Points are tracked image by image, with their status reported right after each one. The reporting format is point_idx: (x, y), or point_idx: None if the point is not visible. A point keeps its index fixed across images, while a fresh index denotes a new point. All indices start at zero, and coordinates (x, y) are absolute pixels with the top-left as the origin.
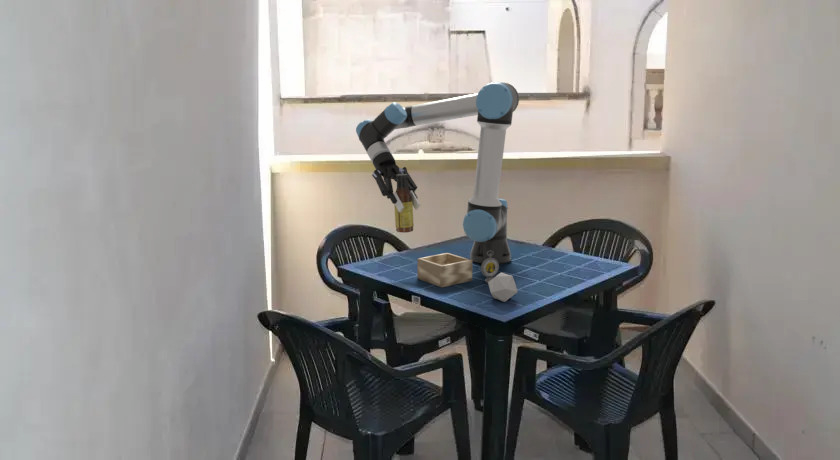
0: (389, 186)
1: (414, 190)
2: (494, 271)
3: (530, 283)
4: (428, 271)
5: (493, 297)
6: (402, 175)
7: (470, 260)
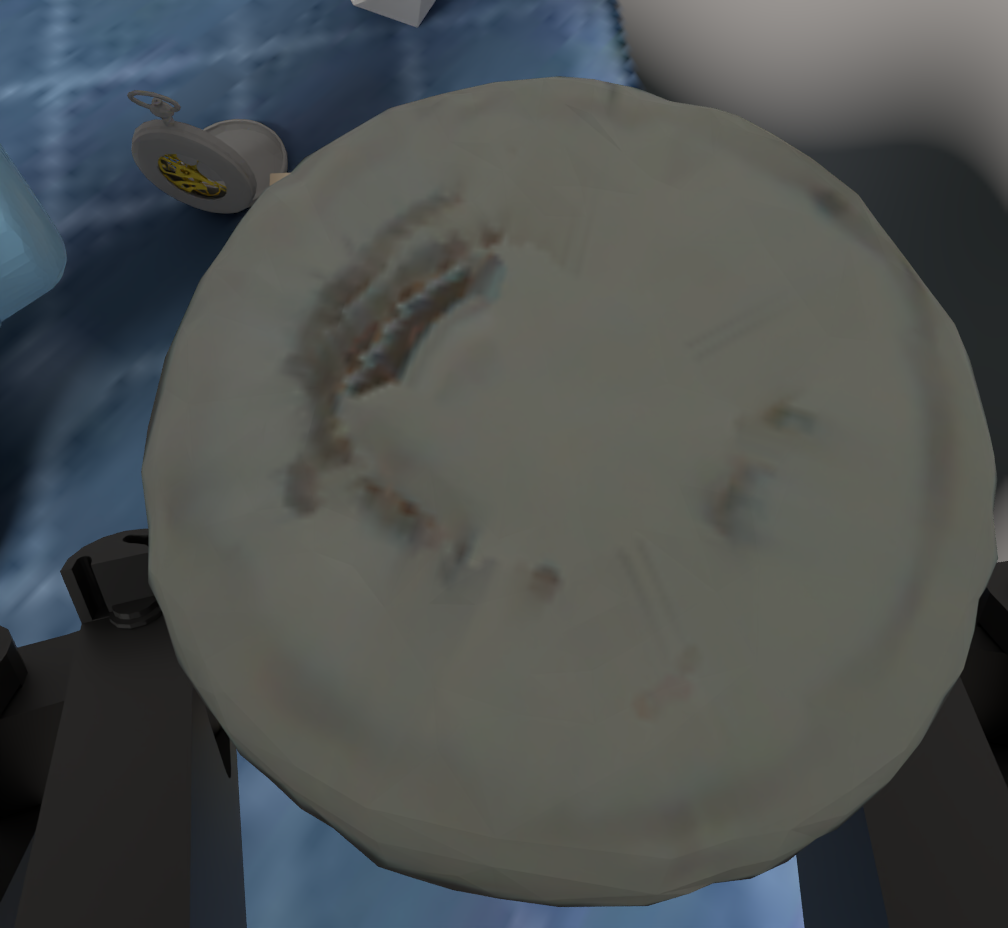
0: (962, 712)
1: (72, 649)
2: (182, 178)
3: (119, 81)
4: None
5: (422, 17)
6: (719, 110)
7: (285, 174)
